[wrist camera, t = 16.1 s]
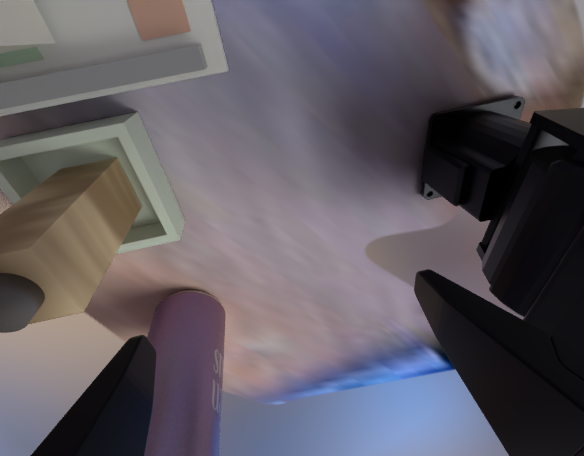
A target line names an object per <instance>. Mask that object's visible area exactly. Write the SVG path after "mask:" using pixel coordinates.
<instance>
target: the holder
mask: <svg viewBox="0 0 584 456" xmlns="http://www.w3.org/2000/svg"><path fill="white" fill-rule="evenodd" d="M113 158H118V159H119V161H120V163H121V165H122V167H123V169H124V171H125V173H126V175H127V177H128V179H129V181H130V183H131V184H132V186H133V188H134V190H135V192H136V194H137V196H138V198H139V200H140V202H141V204H142V208H141V210H140V211H139V213H138V215H137V217H136V219H135V220H134V222H133V224H132V226H131V228H130V230H129V231H128V233H127V235H126V237H125V239H124V240H123V242H122V244H121V246H120V248H119V249H118V251H117V253H116V254H119V253H123V252H128V251H132V250H137V249H142V248H146V247H151V246H155V245H160V244H164V243H169V242H174V241H178V240H180V238H181V234H182V231H183V227H184V224H185V218H184V216H183V213H182V211H181V209H180V206H179V204H178V202H177V200H176V197H175V195H174V193H173V191H172V188H171V186H170V184H169V182H168V179H167V177H166V175H165V172H164V170H163V168H162V166H161V163H160V161H159V159H158V157H157V154H156V152H155V150H154V148H153V145H152V143H151V141H150V138H149V136H148V134H147V132H146V129H145V127H144V125H143V123H142V120H141V118H140V116H139V114H138V112H134V113H129V114H124V115H119V116H114V117H109V118H104V119H99V120H94V121H89V122H84V123H79V124H74V125H69V126H64V127H59V128H54V129H49V130H44V131H39V132H34V133H29V134H24V135H19V136H14V137H9V138H4V139H2V140H0V189H1V190H2V192H3V193H4V194H5V195H6V196H7V198H8V199H9V200H10V201H11V203H12V204H13V205H14V204H15V203H16V202H18V201H19V200H20V199H21V198H23V197H24V196H25V195H27V194H28V193H29V192H31V191H32V190H33V189H35V188H36V187H37V186H39V185H40V184H41V183H42V182H44V181H45V180H46V179H48V178H49V177H50V176H52V175H53V174H54V173H56V172H57V171H58V170H60V169H63V168H68V167H73V166H78V165H83V164H88V163H93V162H98V161H103V160H108V159H113Z"/></svg>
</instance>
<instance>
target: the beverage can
mask: <svg viewBox="0 0 584 456" xmlns="http://www.w3.org/2000/svg"><path fill="white" fill-rule="evenodd" d="M224 336H225V310H224V308H223V306H222V305H221V304H220V302H219V301H218V300H217V299H216V298H215V297H213V296H212V295H210V294H208V293H205V292H202V291H197V290H185V291H180V292H176V293H174V294H172V295H170V296H168V297H167V298H165V299H164V300H163V301H162V302H161V303H160V304H159V305H158V306H157V308H156V310H155V313H154V316H153V319H152V323H151V326H150V329H149V333H148V336H147V339H148V340H149V341H150V343H151V344H152V345H153V347H154V348H155V350H156V371H155V386H154V399H153V408H152V414H151V420H150V426H149V431H148V437H147V443H146V448H145V454H144V456H219V450H220V426H221V403H222V382H223V359H224Z"/></svg>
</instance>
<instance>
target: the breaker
mask: <svg viewBox="0 0 584 456" xmlns="http://www.w3.org/2000/svg"><path fill="white" fill-rule="evenodd" d="M54 43H55V41H54V39H53V37H52V35H51V33H50V31H49V29H48V27H47V25H46V24H45V22H44V20H43V18H42V16H41V14H40V12H39V10H38V8H37V7H36V5H35V3H34V1H33V0H0V54H1V53H6V52H12V51H17V50H22V49H28V48H33V47H38V46H44V45H49V44H54Z"/></svg>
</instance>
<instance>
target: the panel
mask: <svg viewBox="0 0 584 456" xmlns="http://www.w3.org/2000/svg"><path fill="white" fill-rule="evenodd" d="M33 1H34V3H35V5H36V7H37V8H38V10H39V12H40V14H41V16H42V18H43V20H44V22H45V24H46V25H47V27H48V29H49V31H50V33H51V35H52V37H53V39H54V41H55V43H54V44H49V45H44V46H38V47H33V48H28V49H22V50H17V51H12V52H6V53H1V54H0V116H4V115H9V114H14V113H20V112H25V111H30V110H35V109H40V108H45V107H50V106H55V105H60V104H65V103H70V102H75V101H81V100H86V99H91V98H96V97H101V96H106V95H111V94H116V93H121V92H126V91H131V90H136V89H142V88H147V87H152V86H157V85H162V84H167V83H172V82H177V81H182V80H187V79H192V78H197V77H203V76H208V75H213V74H218V73H223V72H228V71H229V67H228V63H227V59H226V55H225V51H224V47H223V43H222V39H221V35H220V31H219V27H218V23H217V19H216V15H215V11H214V7H213V3H212V0H33Z"/></svg>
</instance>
